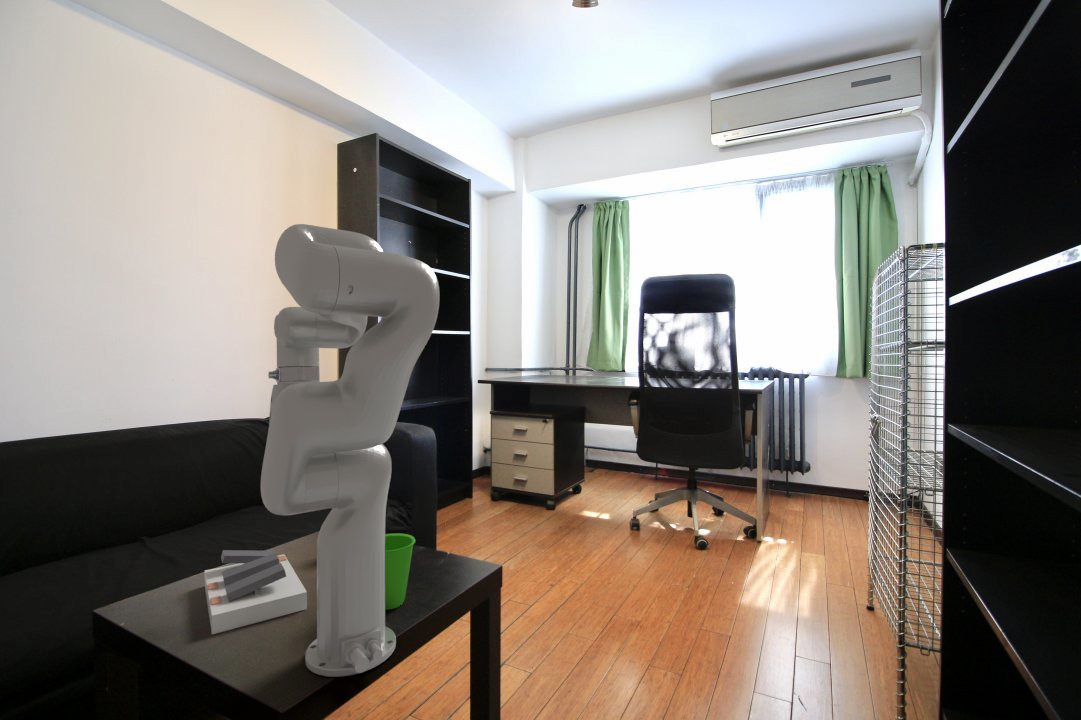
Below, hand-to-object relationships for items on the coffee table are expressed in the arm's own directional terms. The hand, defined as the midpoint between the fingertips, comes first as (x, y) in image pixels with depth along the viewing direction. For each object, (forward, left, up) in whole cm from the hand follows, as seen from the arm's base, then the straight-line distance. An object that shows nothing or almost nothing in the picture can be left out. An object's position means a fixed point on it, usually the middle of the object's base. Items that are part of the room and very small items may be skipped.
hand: (300, 471), depth 98 cm
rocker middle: (+2, +8, -18) cm, 20 cm away
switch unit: (0, +8, -22) cm, 24 cm away
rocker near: (-5, +8, -18) cm, 20 cm away
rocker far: (+9, +8, -18) cm, 22 cm away
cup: (-17, -12, -22) cm, 31 cm away
